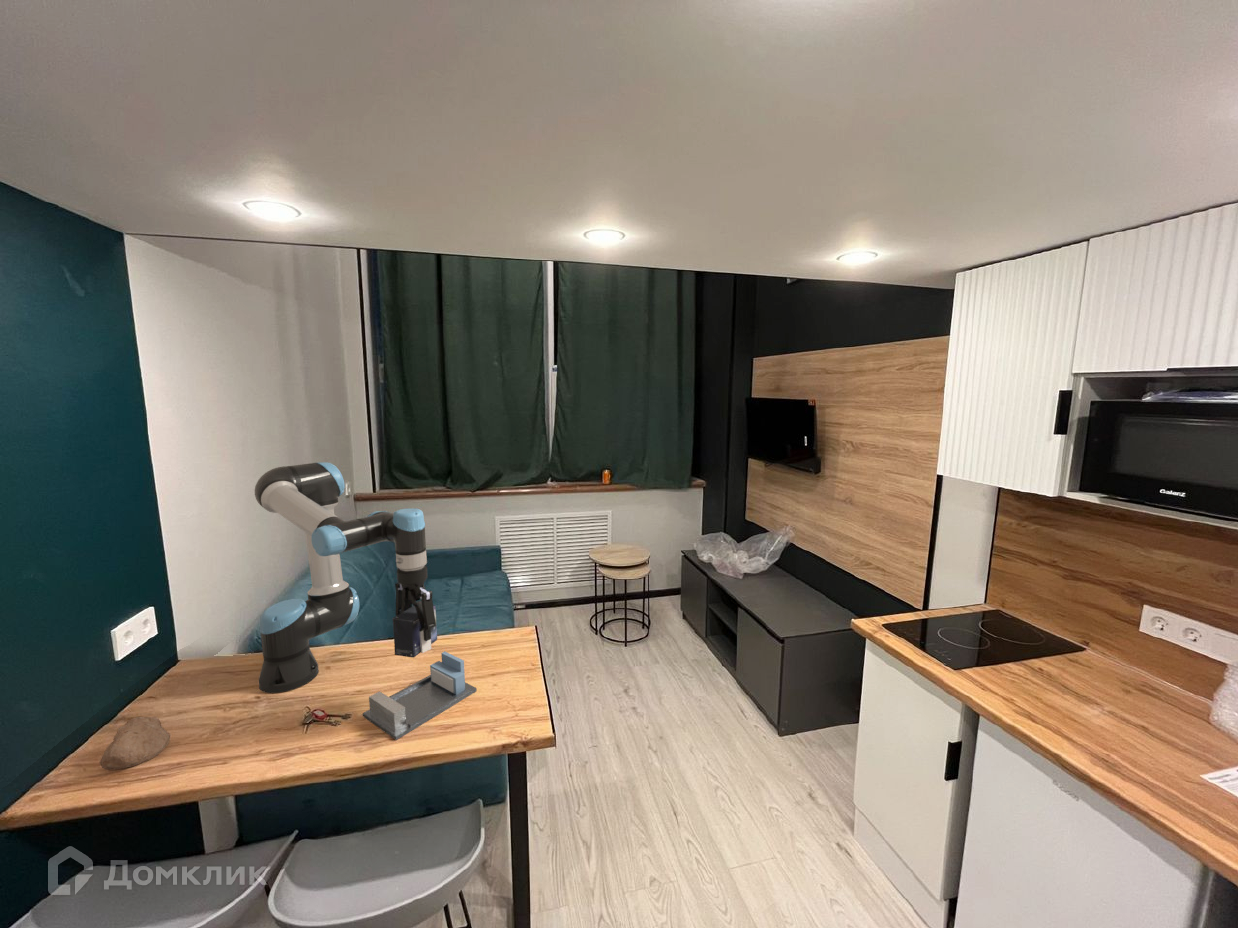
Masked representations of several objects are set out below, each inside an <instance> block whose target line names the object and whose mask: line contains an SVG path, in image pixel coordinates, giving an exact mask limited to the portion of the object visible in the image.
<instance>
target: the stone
mask: <svg viewBox="0 0 1238 928" xmlns="http://www.w3.org/2000/svg"><path fill="white" fill-rule="evenodd" d="M161 722H162V721H161V720H160V718H158V717H156V716H135V717H133V718H130V719H129V720H127V722H125V724H124V725H122V726H120V727H118V728H117V729H116V733H115V735H114V737H113V738H112V740H113V741H111V742H110V743H109V745H107V747H106V749H105V750H104V752H103V753H102V756H101V758H100V760H99V766H100V768H101V769H103V770H107V771H111V770H119V769H127V768H130V767H135V766H137V765H140V764H142V763H146V762H147V761H150V760H152V759H153V758H156V756H158V755H159V754H160V753H161V752H162V751H163V750H164V749H165V748H166V747H167V746H168V745H169V743H170V742H171V733H169V732H168V731H167V730H166V729H165V728H164V727H163V726H162V723H161Z"/></svg>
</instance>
